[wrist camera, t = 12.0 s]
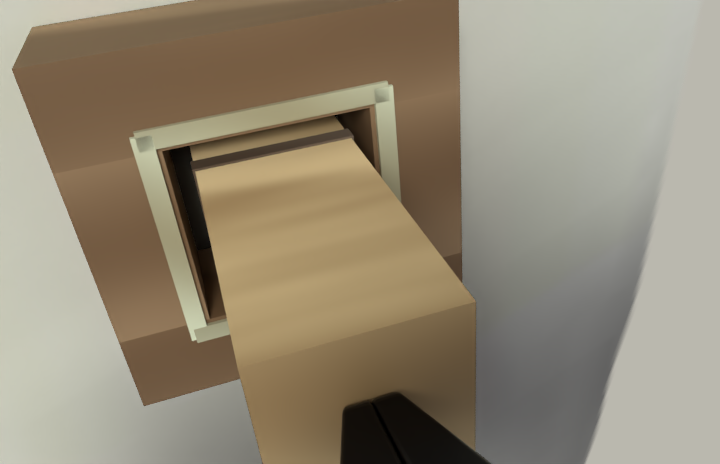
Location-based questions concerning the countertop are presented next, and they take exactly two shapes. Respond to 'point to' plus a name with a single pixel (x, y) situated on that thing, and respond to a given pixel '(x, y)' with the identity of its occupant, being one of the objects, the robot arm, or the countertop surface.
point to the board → (226, 119)
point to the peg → (329, 289)
